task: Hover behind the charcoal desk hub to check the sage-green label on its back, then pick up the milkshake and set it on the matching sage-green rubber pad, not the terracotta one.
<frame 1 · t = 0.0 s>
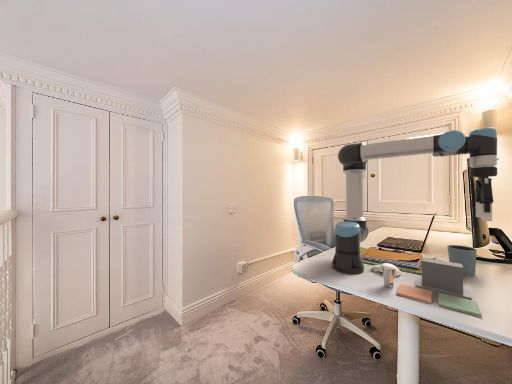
hand: (483, 219, 84), 28 cm above the table, fingers open, 13 cm apart
electrical switch: (437, 278, 93), on the table
teal cup: (461, 272, 100), on the table
milkshake: (387, 286, 86), on the table
car: (385, 273, 100), on the table
hub: (441, 289, 82), on the table
pad sage: (457, 304, 71), on the table
pad terracotta: (414, 293, 79), on the table
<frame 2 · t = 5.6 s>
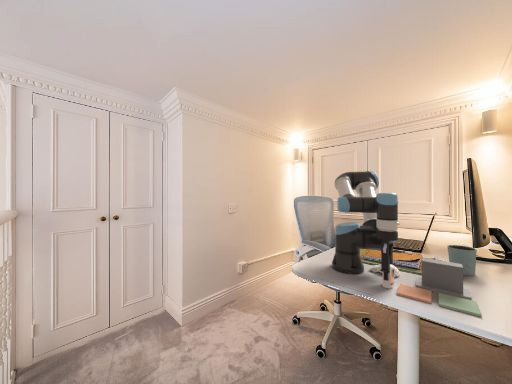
hand: (387, 285, 86), 0 cm above the table, fingers closed on milkshake, 4 cm apart
milkshake: (387, 286, 86), on the table, touching gripper
everything else where it was.
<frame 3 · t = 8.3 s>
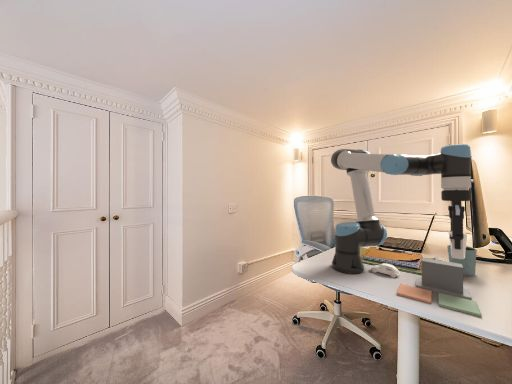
hand: (456, 256, 71), 17 cm above the table, fingers closed on milkshake, 4 cm apart
milkshake: (456, 257, 71), point 16 cm above the table, touching gripper
everything else where it was.
when the fingers open (3 cm above the table, at t = 11.2 s): milkshake drops 2 cm, point 1 cm above the table.
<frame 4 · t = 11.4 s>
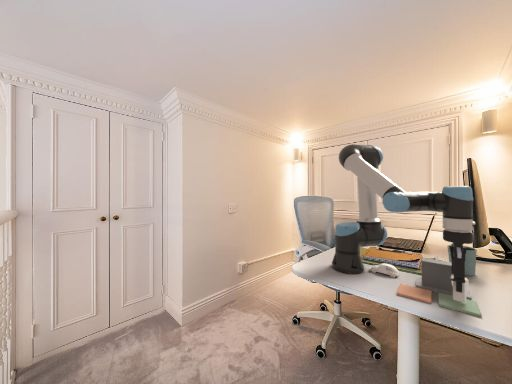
hand: (457, 296, 71), 3 cm above the table, fingers open, 6 cm apart
milkshake: (457, 302, 72), point 1 cm above the table, touching gripper
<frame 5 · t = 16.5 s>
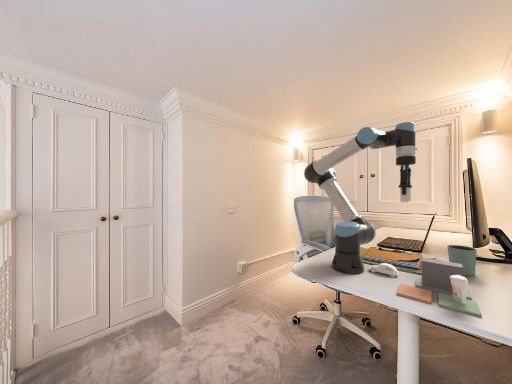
hand: (405, 201, 96), 35 cm above the table, fingers open, 13 cm apart
milkshake: (457, 302, 72), point 1 cm above the table, touching pad sage
at the end: milkshake inside the target area on the pad sage (0.6 cm from its centre), point 0.6 cm above the pad sage's base; milkshake tilted 0°; the gripper is holding nothing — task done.
